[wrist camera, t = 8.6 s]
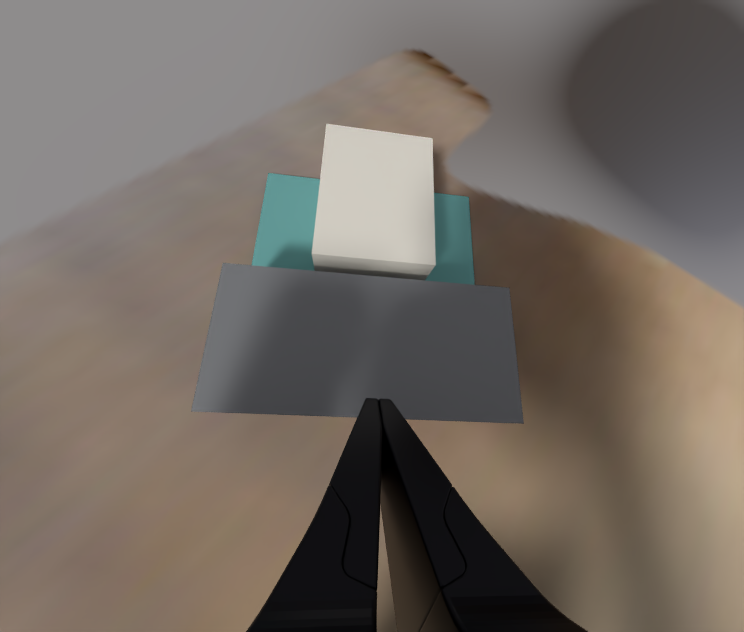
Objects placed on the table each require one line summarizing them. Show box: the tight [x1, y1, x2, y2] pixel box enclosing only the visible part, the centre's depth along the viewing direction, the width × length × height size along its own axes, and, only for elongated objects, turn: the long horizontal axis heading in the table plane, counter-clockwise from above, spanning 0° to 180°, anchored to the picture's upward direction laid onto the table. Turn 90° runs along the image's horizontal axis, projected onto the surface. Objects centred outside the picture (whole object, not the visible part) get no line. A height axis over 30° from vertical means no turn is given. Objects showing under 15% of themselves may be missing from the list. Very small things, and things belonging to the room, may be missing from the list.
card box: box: [312, 124, 436, 280], centre depth 17 cm, size 4×6×8 cm
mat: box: [252, 173, 475, 285], centre depth 19 cm, size 8×14×1 cm, turn 88°
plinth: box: [191, 263, 524, 424], centre depth 15 cm, size 6×14×4 cm, turn 88°
